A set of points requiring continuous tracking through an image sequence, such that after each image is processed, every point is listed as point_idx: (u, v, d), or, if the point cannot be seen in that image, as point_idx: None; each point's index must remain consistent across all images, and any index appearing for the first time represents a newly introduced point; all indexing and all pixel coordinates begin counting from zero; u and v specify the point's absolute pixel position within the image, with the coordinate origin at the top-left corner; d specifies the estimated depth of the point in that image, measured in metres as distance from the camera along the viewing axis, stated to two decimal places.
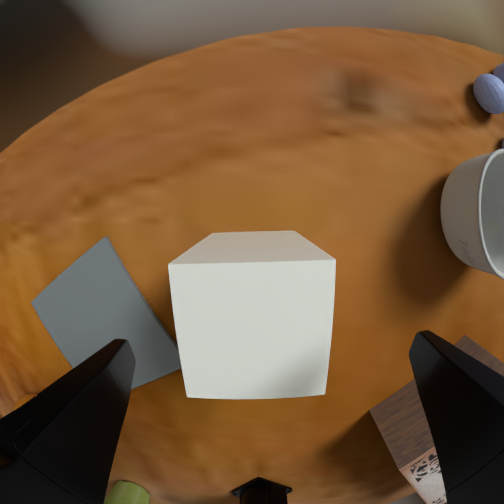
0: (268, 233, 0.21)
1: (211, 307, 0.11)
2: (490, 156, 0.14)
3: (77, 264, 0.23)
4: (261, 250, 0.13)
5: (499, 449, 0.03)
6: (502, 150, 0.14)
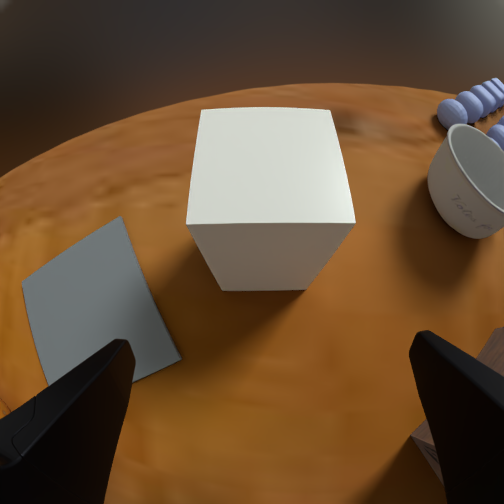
0: None
1: (232, 131, 0.12)
2: (451, 126, 0.19)
3: (84, 241, 0.23)
4: None
5: (499, 449, 0.03)
6: (461, 124, 0.19)
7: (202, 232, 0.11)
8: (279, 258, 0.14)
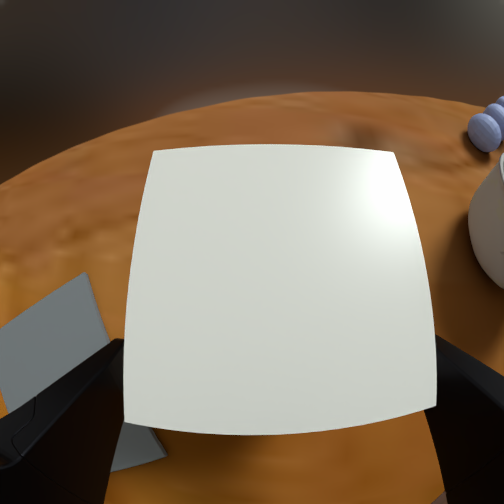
0: None
1: (207, 205, 0.06)
2: (501, 156, 0.13)
3: (46, 301, 0.17)
4: None
5: (499, 449, 0.03)
6: None
7: None
8: None
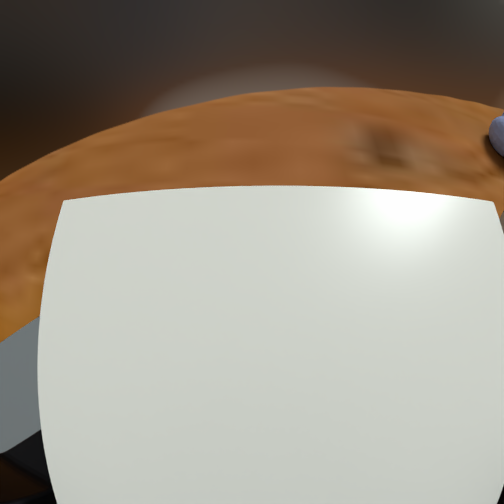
0: None
1: (151, 345, 0.03)
2: None
3: (21, 334, 0.13)
4: None
5: None
6: None
7: None
8: None
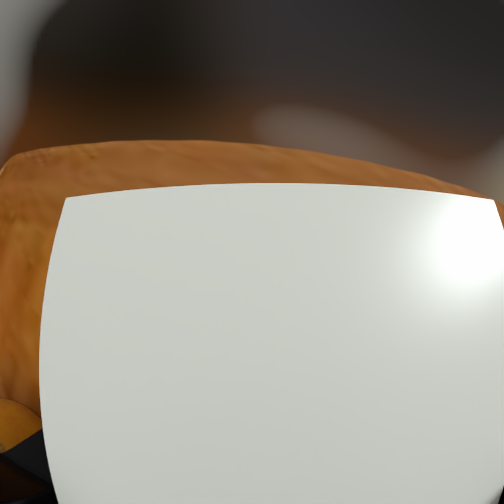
0: None
1: (154, 342, 0.03)
2: None
3: None
4: None
5: None
6: None
7: None
8: None
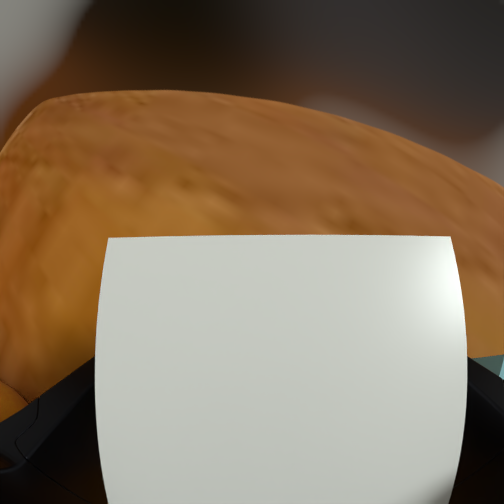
0: None
1: (187, 346, 0.04)
2: None
3: None
4: None
5: (496, 451, 0.03)
6: None
7: None
8: None
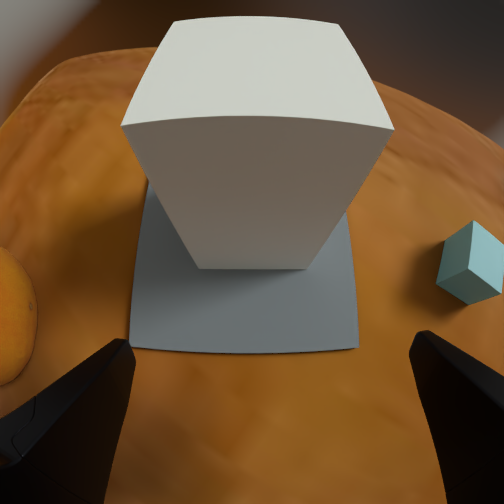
0: None
1: (208, 33, 0.07)
2: None
3: None
4: None
5: (499, 449, 0.03)
6: None
7: (148, 143, 0.06)
8: (272, 205, 0.10)
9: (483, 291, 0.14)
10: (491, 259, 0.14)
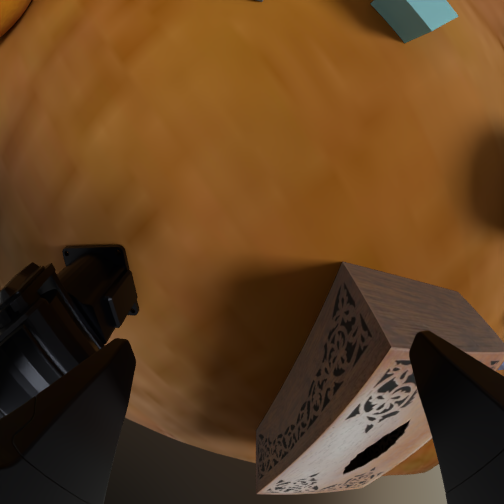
0: None
1: None
2: None
3: None
4: None
5: (499, 449, 0.03)
6: None
7: None
8: None
9: (413, 22, 0.11)
10: (430, 4, 0.09)
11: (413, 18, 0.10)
